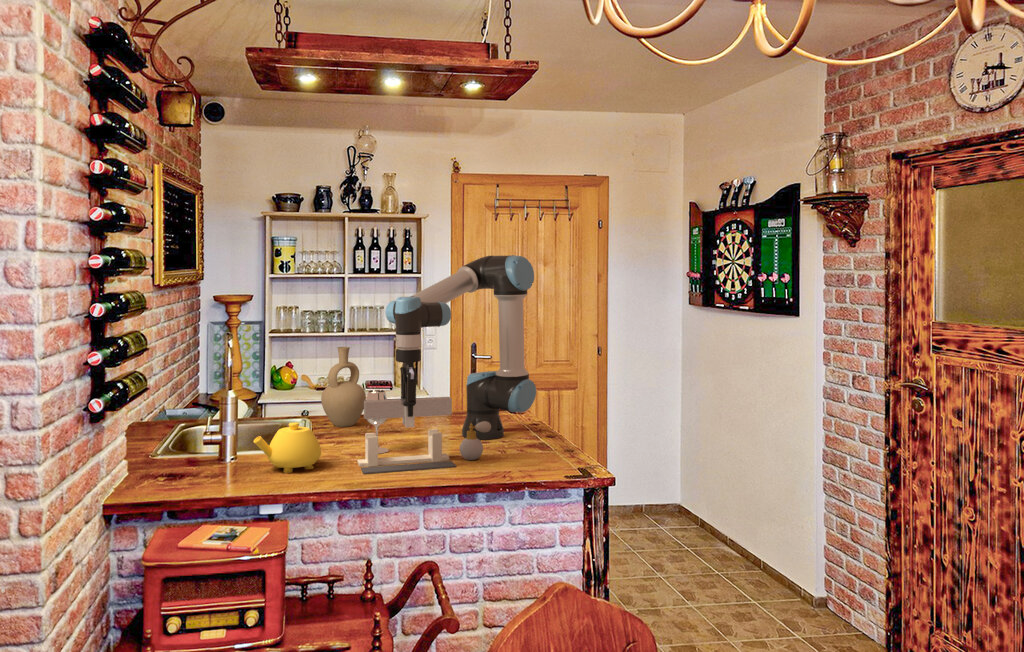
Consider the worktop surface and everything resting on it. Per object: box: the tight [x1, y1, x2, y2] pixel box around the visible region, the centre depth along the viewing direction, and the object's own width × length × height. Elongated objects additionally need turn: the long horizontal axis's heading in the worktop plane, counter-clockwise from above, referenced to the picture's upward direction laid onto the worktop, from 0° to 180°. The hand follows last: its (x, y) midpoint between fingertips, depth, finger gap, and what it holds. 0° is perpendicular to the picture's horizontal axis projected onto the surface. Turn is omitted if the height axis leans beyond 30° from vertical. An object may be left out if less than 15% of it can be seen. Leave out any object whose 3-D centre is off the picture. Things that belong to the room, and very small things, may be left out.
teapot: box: [253, 421, 322, 474], centre depth 236 cm, size 20×16×14 cm
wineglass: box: [366, 389, 389, 455], centre depth 258 cm, size 8×8×20 cm
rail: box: [363, 396, 453, 420], centre depth 236 cm, size 26×4×5 cm, turn 108°
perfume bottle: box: [459, 421, 491, 461], centre depth 249 cm, size 8×10×12 cm
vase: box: [320, 346, 367, 428], centre depth 299 cm, size 17×17×30 cm
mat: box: [360, 460, 457, 475], centre depth 238 cm, size 28×6×1 cm, turn 108°
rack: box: [357, 428, 450, 468], centre depth 245 cm, size 28×6×9 cm, turn 108°
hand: (408, 425), depth 236 cm, fingers closed on rail, 4 cm apart
